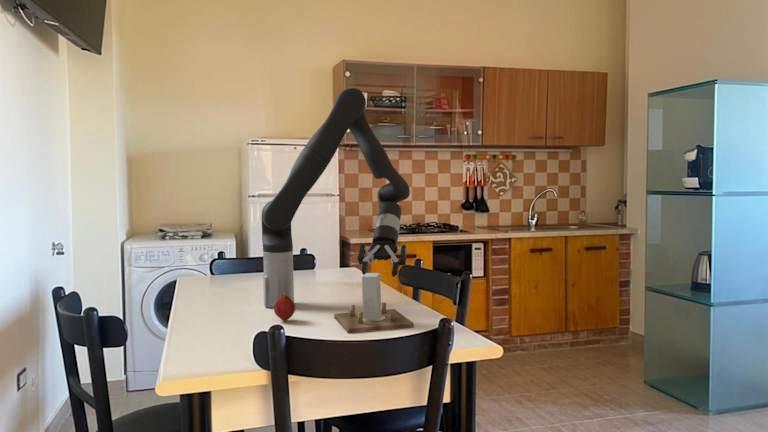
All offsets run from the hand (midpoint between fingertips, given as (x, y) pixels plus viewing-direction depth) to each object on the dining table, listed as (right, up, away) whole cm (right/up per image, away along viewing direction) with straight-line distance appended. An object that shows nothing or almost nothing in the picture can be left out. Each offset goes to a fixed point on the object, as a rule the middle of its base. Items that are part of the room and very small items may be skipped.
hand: (378, 275), depth 180 cm
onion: (-27, -13, -5) cm, 30 cm away
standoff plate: (-2, -12, -8) cm, 15 cm away
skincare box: (-2, -11, -8) cm, 14 cm away
